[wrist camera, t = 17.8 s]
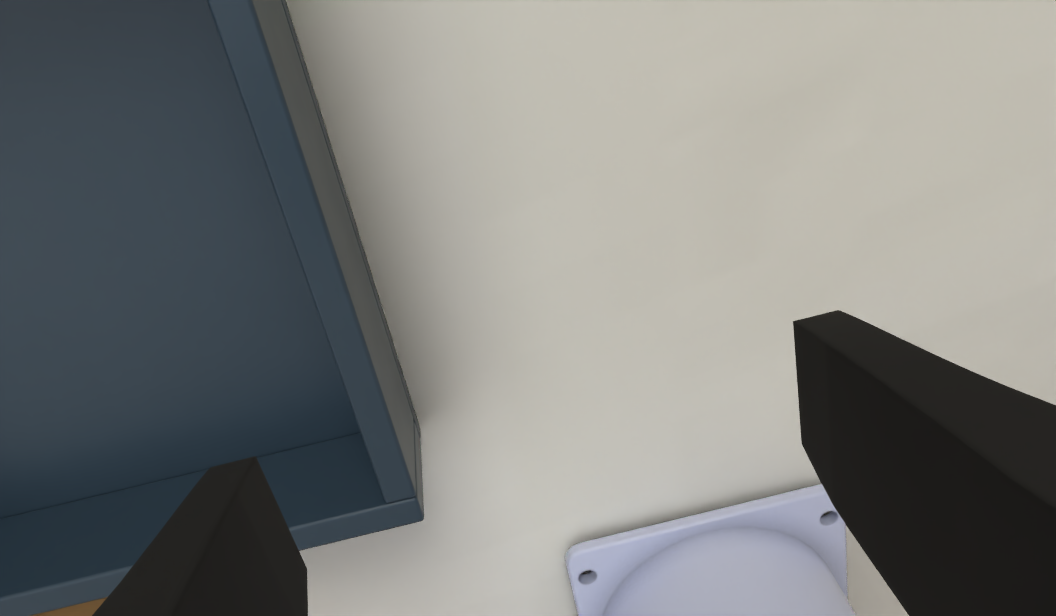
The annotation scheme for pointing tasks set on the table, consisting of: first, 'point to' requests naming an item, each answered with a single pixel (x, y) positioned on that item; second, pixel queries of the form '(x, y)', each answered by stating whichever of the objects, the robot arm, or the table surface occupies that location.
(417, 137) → the table surface
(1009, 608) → the robot arm
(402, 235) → the table surface
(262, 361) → the bin
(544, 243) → the table surface
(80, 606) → the maple block
